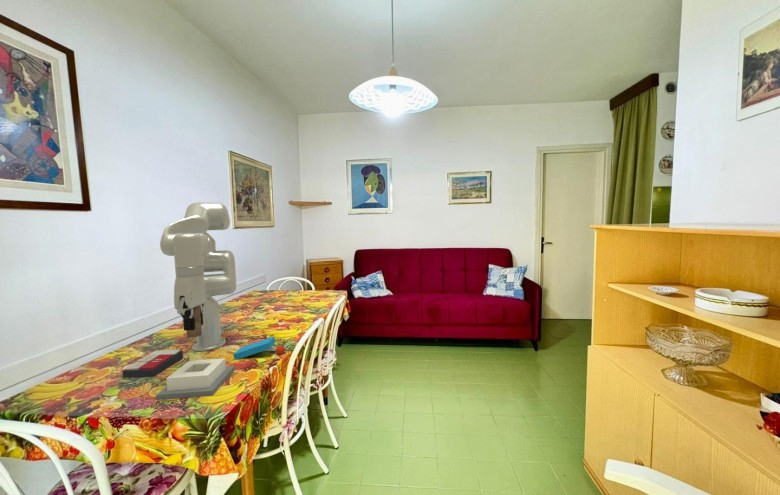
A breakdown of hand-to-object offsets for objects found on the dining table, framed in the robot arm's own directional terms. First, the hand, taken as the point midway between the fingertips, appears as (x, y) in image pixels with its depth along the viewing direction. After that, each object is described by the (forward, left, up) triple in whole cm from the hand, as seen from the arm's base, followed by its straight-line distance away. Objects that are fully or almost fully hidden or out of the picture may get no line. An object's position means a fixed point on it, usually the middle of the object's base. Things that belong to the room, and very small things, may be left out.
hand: (193, 327), depth 94 cm
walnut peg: (0, 0, -3) cm, 3 cm away
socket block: (0, 0, -19) cm, 19 cm away
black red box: (-16, -23, -20) cm, 34 cm away
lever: (-21, +14, -20) cm, 32 cm away
